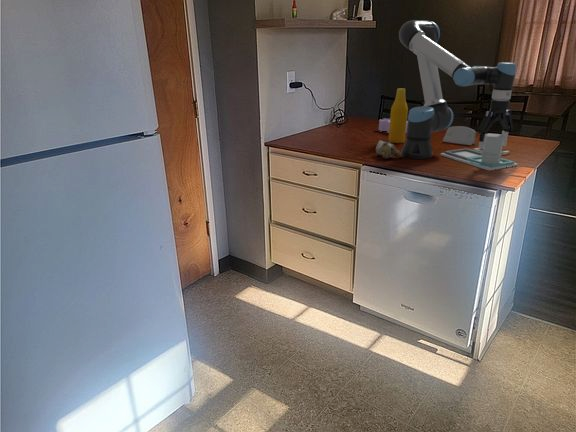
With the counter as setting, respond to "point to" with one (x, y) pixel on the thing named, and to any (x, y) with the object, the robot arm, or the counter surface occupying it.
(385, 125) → the clip
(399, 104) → the beer bottle
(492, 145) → the supplement box
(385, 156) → the ceramic sculpture
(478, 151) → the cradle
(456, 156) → the pocket plate
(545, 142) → the counter surface
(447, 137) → the gray curved slotted casing
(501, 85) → the robot arm
